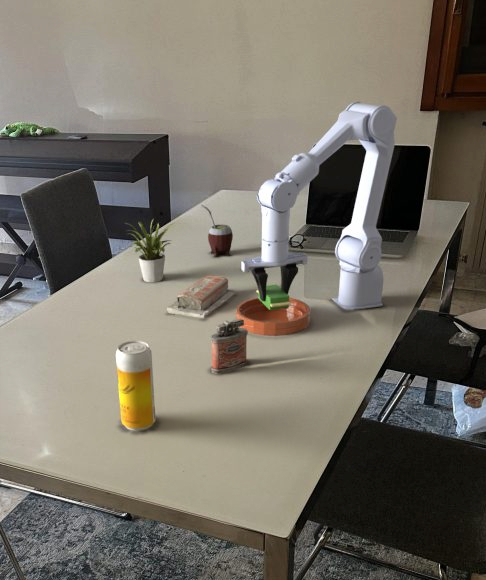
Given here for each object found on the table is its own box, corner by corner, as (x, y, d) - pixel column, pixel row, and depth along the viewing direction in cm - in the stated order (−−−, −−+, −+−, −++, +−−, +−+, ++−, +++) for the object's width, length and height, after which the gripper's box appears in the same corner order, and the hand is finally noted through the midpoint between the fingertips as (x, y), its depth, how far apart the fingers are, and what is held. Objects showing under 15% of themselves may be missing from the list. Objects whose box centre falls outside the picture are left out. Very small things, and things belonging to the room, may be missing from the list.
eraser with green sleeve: (274, 294, 170) (275, 282, 168) (290, 310, 161) (291, 297, 160) (256, 296, 169) (256, 285, 168) (271, 312, 160) (272, 300, 159)
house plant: (113, 286, 196) (108, 224, 188) (133, 269, 207) (129, 211, 199) (163, 290, 191) (160, 227, 183) (181, 273, 202) (179, 213, 194)
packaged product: (200, 271, 187) (236, 276, 182) (200, 289, 189) (236, 295, 185) (165, 295, 174) (203, 300, 169) (166, 314, 176) (204, 320, 172)
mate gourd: (236, 252, 215) (236, 200, 208) (224, 259, 209) (224, 206, 202) (214, 249, 219) (213, 198, 211) (201, 256, 213) (200, 204, 206)
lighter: (216, 375, 146) (216, 329, 141) (207, 369, 149) (207, 323, 144) (250, 365, 149) (251, 319, 144) (241, 359, 152) (241, 314, 147)
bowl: (293, 306, 176) (294, 292, 174) (320, 332, 162) (321, 317, 160) (227, 315, 174) (227, 301, 172) (249, 342, 159) (249, 327, 158)
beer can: (120, 417, 134) (114, 341, 127) (154, 414, 134) (149, 338, 127) (122, 433, 129) (116, 356, 121) (157, 430, 129) (152, 352, 122)
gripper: (300, 229, 162) (297, 288, 169) (237, 237, 160) (237, 296, 167) (312, 238, 156) (309, 298, 163) (247, 246, 154) (246, 307, 161)
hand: (273, 298), depth 165 cm, fingers closed on eraser with green sleeve, 4 cm apart
